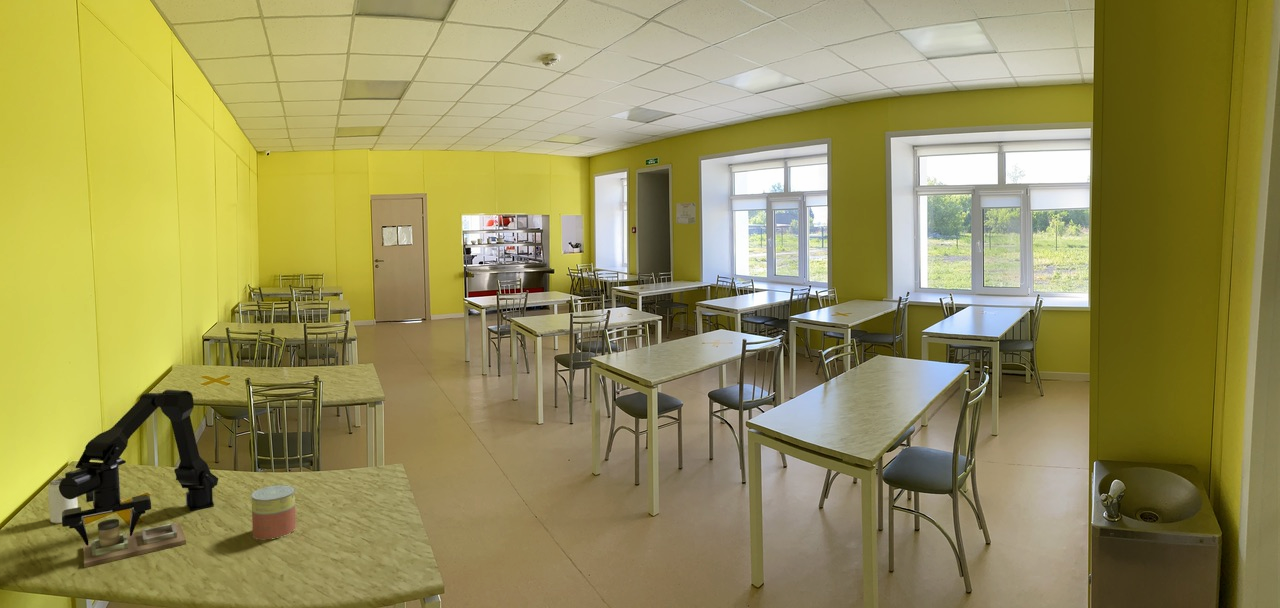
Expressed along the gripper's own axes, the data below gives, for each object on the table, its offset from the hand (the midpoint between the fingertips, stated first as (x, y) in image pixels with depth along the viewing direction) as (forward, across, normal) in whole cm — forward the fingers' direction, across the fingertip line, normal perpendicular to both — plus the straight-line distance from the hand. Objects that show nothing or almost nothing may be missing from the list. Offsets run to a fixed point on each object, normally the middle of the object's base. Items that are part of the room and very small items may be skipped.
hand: (109, 540), depth 182 cm
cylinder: (+2, 0, 0) cm, 2 cm away
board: (+3, -6, 0) cm, 6 cm away
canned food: (+4, -38, +13) cm, 40 cm away
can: (+3, +10, -33) cm, 35 cm away
